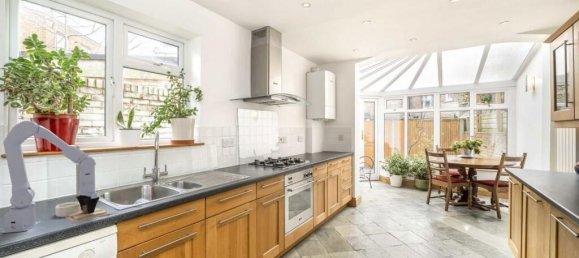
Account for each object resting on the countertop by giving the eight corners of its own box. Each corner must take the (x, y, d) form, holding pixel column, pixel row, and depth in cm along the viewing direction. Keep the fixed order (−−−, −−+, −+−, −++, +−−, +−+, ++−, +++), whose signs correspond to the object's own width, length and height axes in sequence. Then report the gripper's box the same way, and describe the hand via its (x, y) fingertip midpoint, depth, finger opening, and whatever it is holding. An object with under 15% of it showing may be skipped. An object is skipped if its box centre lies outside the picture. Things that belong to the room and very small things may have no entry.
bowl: (74, 216, 119) (74, 206, 119) (51, 218, 117) (50, 208, 117) (84, 210, 128) (84, 201, 128) (62, 211, 125) (62, 202, 125)
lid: (106, 213, 122) (106, 204, 122) (78, 220, 113) (77, 210, 112) (96, 209, 128) (96, 200, 128) (68, 215, 118) (68, 206, 118)
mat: (111, 213, 122) (111, 213, 122) (75, 223, 110) (75, 222, 110) (98, 208, 130) (98, 208, 130) (63, 217, 118) (63, 216, 118)
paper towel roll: (98, 200, 145) (97, 162, 145) (88, 203, 139) (88, 164, 139) (86, 199, 146) (85, 162, 145) (76, 203, 140) (75, 163, 139)
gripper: (104, 182, 119) (104, 211, 120) (90, 179, 127) (91, 206, 127) (86, 185, 113) (86, 216, 114) (73, 181, 121) (73, 210, 121)
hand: (87, 211), depth 120 cm, fingers open, 7 cm apart
